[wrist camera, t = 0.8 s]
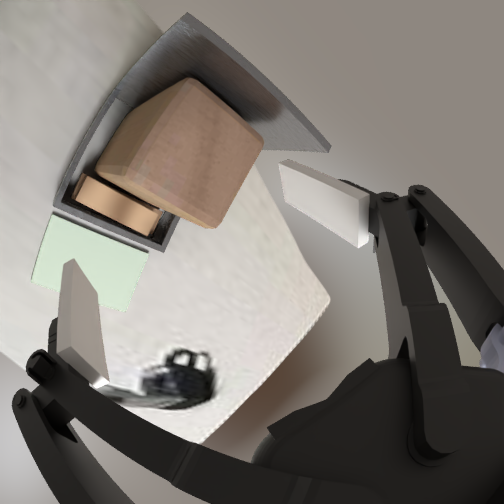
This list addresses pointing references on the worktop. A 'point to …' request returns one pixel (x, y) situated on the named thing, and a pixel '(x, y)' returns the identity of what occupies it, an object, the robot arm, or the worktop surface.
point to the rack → (219, 83)
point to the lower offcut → (121, 194)
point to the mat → (89, 262)
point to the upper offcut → (115, 205)
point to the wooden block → (182, 153)
